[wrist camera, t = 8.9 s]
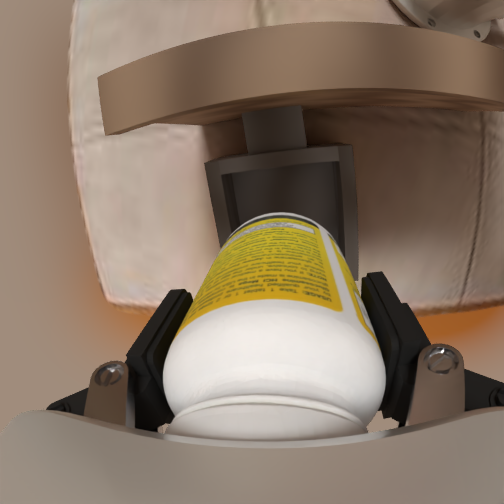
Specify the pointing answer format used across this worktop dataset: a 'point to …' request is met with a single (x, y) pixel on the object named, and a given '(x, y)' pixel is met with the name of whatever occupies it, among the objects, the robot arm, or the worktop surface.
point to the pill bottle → (275, 341)
